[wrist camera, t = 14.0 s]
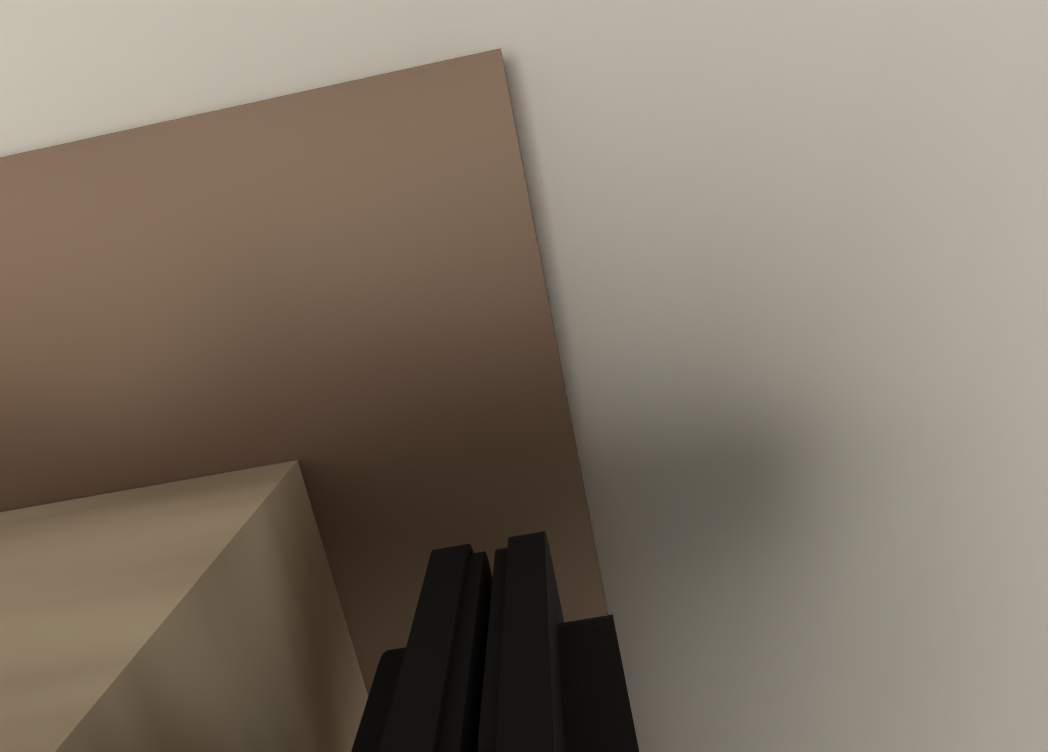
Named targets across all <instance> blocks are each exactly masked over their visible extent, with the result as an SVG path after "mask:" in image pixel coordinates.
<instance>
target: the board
mask: <svg viewBox="0 0 1048 752" xmlns="http://www.w3.org/2000/svg"><path fill="white" fill-rule="evenodd" d="M295 460H298V463H299V466H300V469H301V473H302V476H303V480H304V483H305V486H306V490H307V493H308V496H309V500H310V503H311V506H312V510H313V513H314V516H315V520H316V523H317V526H318V530H319V533H320V536H321V540H322V543H323V546H324V550H325V553H326V556H327V560H328V563H329V566H330V570H331V573H332V576H333V580H334V583H335V586H336V590H337V593H338V597H339V600H340V603H341V607H342V610H343V613H344V617H345V620H346V623H347V627H348V630H349V633H350V637H351V640H352V643H353V647H354V650H355V653H356V657H357V660H358V663H359V667H360V670H361V673H362V677H363V680H364V683H365V687H366V690H367V693H368V696H369V692H370V689H371V686H372V683H373V680H374V676H375V673H376V670H377V667H378V663H379V661H380V658H381V656H382V654H383V653H384V652H385V651H387V650H392V649H398V648H405V647H406V646H407V642H408V638H409V634H410V631H411V627H412V623H413V619H414V615H415V612H416V608H417V604H418V600H419V596H420V592H421V589H422V585H423V581H424V577H425V573H426V570H427V566H428V562H429V558H430V554H431V552H432V550H434V549H440V548H447V547H453V546H459V545H465V544H470V545H471V546H472V549H473V551H474V553H477V552H483V551H485V552H486V554H487V556H488V560H489V564H490V569H491V573H492V577H493V568H494V557H495V550H496V549H501V548H507V546H508V537H513V536H519V535H525V534H531V533H537V532H543V531H545V532H546V535H547V539H548V544H549V549H550V553H551V558H552V563H553V568H554V573H555V578H556V583H557V588H558V593H559V598H560V603H561V608H562V613H563V618H564V622H569V621H576V620H582V619H588V618H595V617H601V616H607V615H608V613H607V607H606V602H605V597H604V592H603V586H602V581H601V576H600V570H599V565H598V560H597V555H596V549H595V544H594V539H593V534H592V528H591V523H590V518H589V512H588V507H587V502H586V497H585V491H584V486H583V481H582V476H581V470H580V465H579V460H578V454H577V449H576V444H575V439H574V433H573V428H572V423H571V418H570V412H569V407H568V402H567V396H566V391H565V386H564V381H563V375H562V370H561V365H560V360H559V354H558V349H557V344H556V338H555V333H554V328H553V323H552V317H551V312H550V307H549V302H548V296H547V291H546V286H545V280H544V275H543V270H542V265H541V259H540V254H539V249H538V244H537V238H536V233H535V228H534V222H533V217H532V212H531V207H530V201H529V196H528V191H527V186H526V180H525V175H524V170H523V164H522V159H521V154H520V149H519V143H518V138H517V133H516V128H515V122H514V117H513V112H512V106H511V101H510V96H509V91H508V85H507V80H506V75H505V70H504V64H503V59H502V54H501V49H496V50H492V51H487V52H482V53H478V54H473V55H469V56H464V57H459V58H455V59H450V60H446V61H441V62H436V63H432V64H427V65H423V66H418V67H414V68H409V69H404V70H400V71H395V72H391V73H386V74H381V75H377V76H372V77H368V78H363V79H359V80H354V81H349V82H345V83H340V84H336V85H331V86H326V87H322V88H317V89H313V90H308V91H304V92H299V93H294V94H290V95H285V96H281V97H276V98H271V99H267V100H262V101H258V102H253V103H249V104H244V105H239V106H235V107H230V108H226V109H221V110H216V111H212V112H207V113H203V114H198V115H194V116H189V117H184V118H180V119H175V120H171V121H166V122H161V123H157V124H152V125H148V126H143V127H139V128H134V129H129V130H125V131H120V132H116V133H111V134H106V135H102V136H97V137H93V138H88V139H84V140H79V141H74V142H70V143H65V144H61V145H56V146H51V147H47V148H42V149H38V150H33V151H29V152H24V153H19V154H15V155H10V156H6V157H1V158H0V512H4V511H10V510H15V509H21V508H27V507H32V506H38V505H44V504H50V503H55V502H61V501H67V500H72V499H78V498H84V497H90V496H95V495H101V494H107V493H112V492H118V491H124V490H129V489H135V488H141V487H147V486H152V485H158V484H164V483H169V482H175V481H181V480H186V479H192V478H198V477H204V476H209V475H215V474H221V473H226V472H232V471H238V470H243V469H249V468H255V467H261V466H266V465H272V464H278V463H283V462H289V461H295Z"/></svg>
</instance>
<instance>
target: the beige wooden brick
mask: <svg viewBox="0 0 1048 752" xmlns="http://www.w3.org/2000/svg"><path fill="white" fill-rule="evenodd" d="M367 699H368V693H367V690H366V687H365V683H364V680H363V677H362V673H361V670H360V667H359V663H358V660H357V657H356V653H355V650H354V647H353V643H352V640H351V637H350V633H349V630H348V627H347V623H346V620H345V617H344V613H343V610H342V607H341V603H340V600H339V597H338V593H337V590H336V586H335V583H334V580H333V576H332V573H331V570H330V566H329V563H328V560H327V556H326V553H325V550H324V546H323V543H322V540H321V536H320V533H319V530H318V526H317V523H316V520H315V516H314V513H313V510H312V506H311V503H310V500H309V496H308V493H307V490H306V486H305V483H304V480H303V476H302V473H301V469H300V466H299V463H298V460H295V461H289V462H283V463H278V464H272V465H266V466H261V467H255V468H249V469H243V470H238V471H232V472H226V473H221V474H215V475H209V476H204V477H198V478H192V479H186V480H181V481H175V482H169V483H164V484H158V485H152V486H147V487H141V488H135V489H129V490H124V491H118V492H112V493H107V494H101V495H95V496H90V497H84V498H78V499H72V500H67V501H61V502H55V503H50V504H44V505H38V506H32V507H27V508H21V509H15V510H10V511H4V512H0V752H351V750H352V747H353V744H354V741H355V737H356V734H357V731H358V728H359V725H360V721H361V718H362V715H363V712H364V708H365V705H366V702H367Z"/></svg>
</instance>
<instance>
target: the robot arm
mask: <svg viewBox="0 0 1048 752" xmlns="http://www.w3.org/2000/svg"><path fill="white" fill-rule="evenodd" d="M351 752H639V749H638V744H637V739H636V733H635V728H634V723H633V718H632V713H631V708H630V702H629V697H628V692H627V687H626V682H625V677H624V671H623V666H622V661H621V656H620V651H619V645H618V640H617V635H616V630H615V625H614V620H613V615H607V616H601V617H595V618H588V619H582V620H576V621H569V622H564V618H563V613H562V608H561V603H560V598H559V593H558V588H557V583H556V578H555V573H554V568H553V563H552V558H551V553H550V549H549V544H548V539H547V535H546V532H545V531H543V532H537V533H531V534H525V535H519V536H513V537H508V546H507V548H501V549H496V550H495V557H494V568H493V577H492V573H491V569H490V564H489V560H488V556H487V554H486V552H485V551H483V552H477V553H474V551H473V549H472V546H471V545H470V544H465V545H459V546H453V547H447V548H440V549H434V550H432V552H431V554H430V558H429V562H428V566H427V570H426V573H425V577H424V581H423V585H422V589H421V592H420V596H419V600H418V604H417V608H416V612H415V615H414V619H413V623H412V627H411V631H410V634H409V638H408V642H407V646H406V647H405V648H398V649H392V650H387V651H385V652H384V653H383V654H382V656H381V658H380V661H379V663H378V667H377V670H376V673H375V676H374V680H373V683H372V686H371V689H370V692H369V696H368V699H367V702H366V705H365V708H364V712H363V715H362V718H361V721H360V725H359V728H358V731H357V734H356V737H355V741H354V744H353V747H352V750H351Z"/></svg>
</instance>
